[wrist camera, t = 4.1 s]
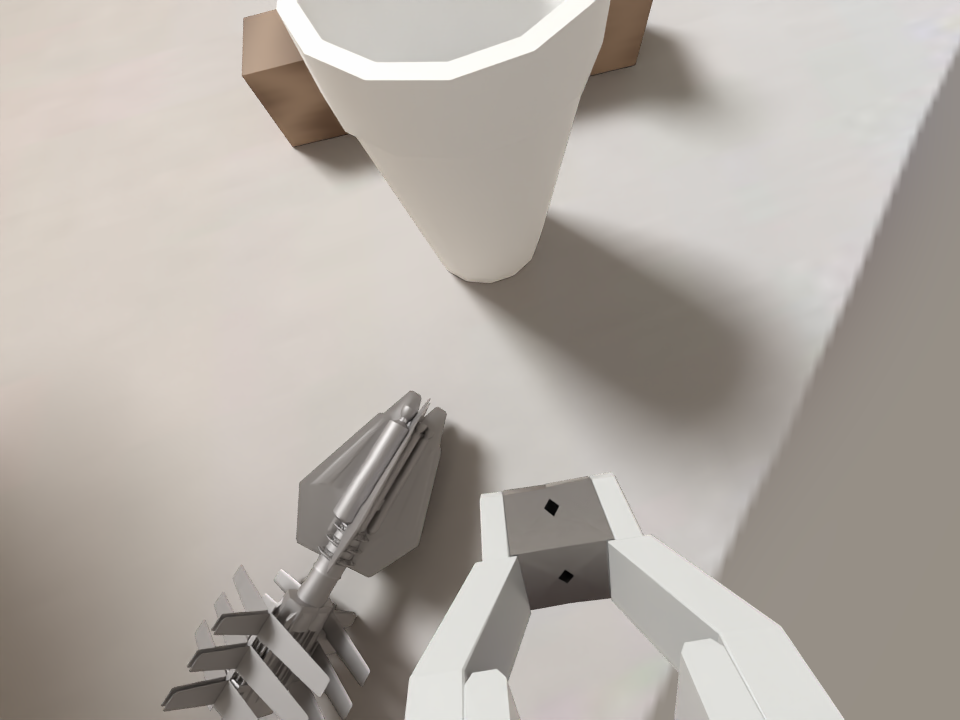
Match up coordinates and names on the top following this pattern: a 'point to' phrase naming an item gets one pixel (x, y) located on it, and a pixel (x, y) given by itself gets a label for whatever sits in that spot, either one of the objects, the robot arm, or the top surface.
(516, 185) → the foam cup
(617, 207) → the top surface
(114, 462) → the top surface
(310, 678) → the spaceship
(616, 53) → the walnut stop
